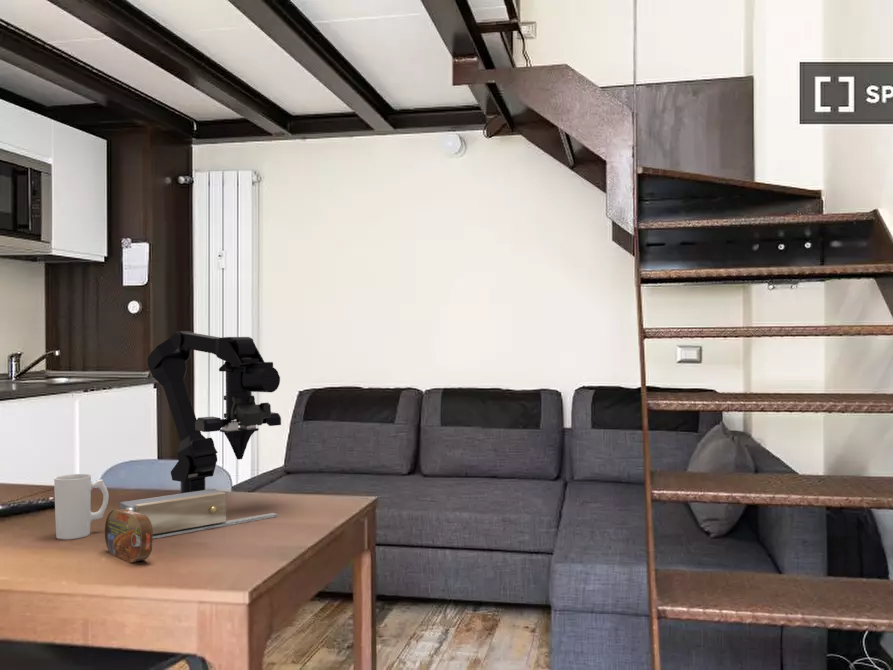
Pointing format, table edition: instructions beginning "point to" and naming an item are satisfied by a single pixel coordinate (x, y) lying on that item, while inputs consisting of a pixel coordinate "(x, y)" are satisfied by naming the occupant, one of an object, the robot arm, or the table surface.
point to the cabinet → (165, 498)
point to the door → (185, 512)
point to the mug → (76, 505)
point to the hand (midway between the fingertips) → (239, 459)
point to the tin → (128, 535)
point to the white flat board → (210, 524)
